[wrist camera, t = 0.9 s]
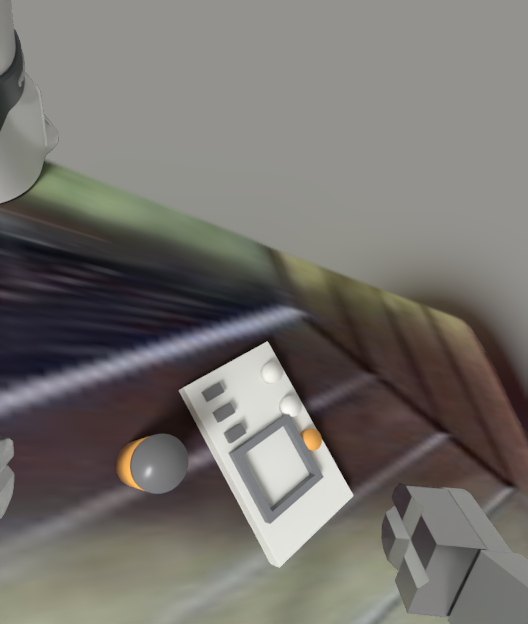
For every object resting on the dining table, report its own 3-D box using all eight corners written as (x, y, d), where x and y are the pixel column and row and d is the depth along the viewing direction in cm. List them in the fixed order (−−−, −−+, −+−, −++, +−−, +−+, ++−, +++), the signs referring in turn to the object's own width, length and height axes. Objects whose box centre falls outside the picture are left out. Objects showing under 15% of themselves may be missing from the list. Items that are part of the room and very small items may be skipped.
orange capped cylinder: (107, 455, 40) (121, 453, 31) (149, 431, 42) (172, 423, 34) (128, 496, 39) (148, 506, 31) (169, 470, 42) (197, 471, 33)
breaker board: (178, 390, 45) (186, 385, 42) (260, 345, 51) (272, 338, 48) (270, 563, 43) (284, 570, 40) (343, 494, 50) (359, 496, 47)
